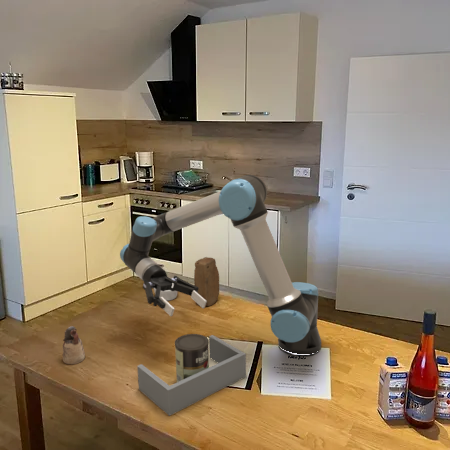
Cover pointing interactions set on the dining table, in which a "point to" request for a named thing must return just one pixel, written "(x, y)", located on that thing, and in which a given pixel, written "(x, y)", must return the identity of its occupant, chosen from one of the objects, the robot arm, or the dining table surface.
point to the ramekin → (168, 294)
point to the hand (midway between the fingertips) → (189, 308)
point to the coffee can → (191, 355)
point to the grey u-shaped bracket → (195, 379)
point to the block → (207, 279)
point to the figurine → (72, 347)
